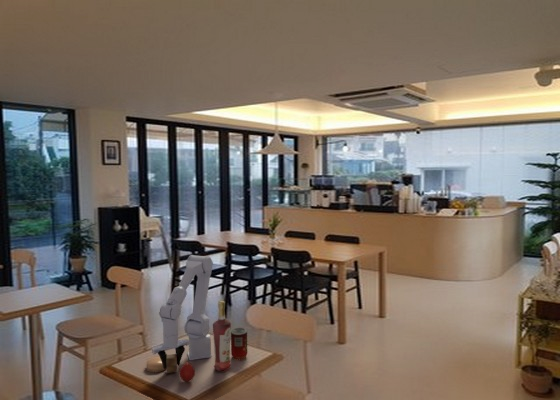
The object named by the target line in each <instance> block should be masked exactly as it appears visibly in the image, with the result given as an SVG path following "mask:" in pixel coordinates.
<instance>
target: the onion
mask: <svg viewBox="0 0 560 400" xmlns="http://www.w3.org/2000/svg"><path fill="white" fill-rule="evenodd" d="M195 375H196V370H195V367H194V365H192V364H191V363H189V362H188V361H186V362H185V364H183V365H182V366H181V367H180V370H179V378H180V379H181V380H183V381H184V382H185V383H189V382H190V381H192V380H193V379H194V377H195Z"/></svg>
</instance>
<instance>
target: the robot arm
mask: <svg viewBox="0 0 560 400" xmlns="http://www.w3.org/2000/svg"><path fill="white" fill-rule="evenodd" d="M213 265H214V261H213V260H212V258H211V257H210V256H205V255H204V256H203V255H194V254H191V255H189V256H188V257H187V260H186V261H185V270H184V274H183V275H182V278H181V280H180V282H179V285H178V286H176V287H174V288H173V290H172V291H171V294H170V295H169V297H168V299H167V301H166V303H164V304H162V305H161V307H160V308H159V309H160V310H159V312H158V314H159V317H160V318H161V322H162V340H163V341H162V342H163V343H161V344H159V345H156V346H153V347H152V348H151V351H152V355H156V354H158V356H160V358H161V361H162V364H163V368H164V369H167V365H166V358H167V355H168V354H167V353H166V351H169V350H175V354H176V357H177V367H178V366H180V365H181V360H182V357H183V354H184V353H185V351H186V348H185V346H187V347H188V351H187V353H186V354H187V357H188V360H189V361H195V360H200V359H201V360H202V359H208V358H212V344H211V343H212V341H211V335H210V333H209V332H210V318H209V317H208V316H207V315H206V313H205V312H206V308H207V298H208V293H209V292H208V291H209V287H210V280H211V275H212V270H213ZM195 276H196V277H197V280H196V287H195V293H194V300H193V308H192V312H191V313H190V314H189V315H187V317H186V320H185V323H184V327H183V328H184V332H185V334H186V337H188V339H179V331H178V330H179V326H178V318H179V317H180V316H181V311H182V310H181V309H182V305H183V302H184V301H185V298H186V297H187V295H188V292H187V289H188V288H189V286H190V284H191V283H192V281H193V279H194V278H195Z"/></svg>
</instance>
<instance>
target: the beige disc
mask: <svg viewBox="0 0 560 400" xmlns="http://www.w3.org/2000/svg"><path fill="white" fill-rule="evenodd" d="M145 365H146V366H145V367H146V371H147V372H150V373H160V372H163V371H165V370H166V369H164V368H163V364H162V361H161V358H160V356H159V355H158V356H153V357H151V358H149V359H147V360H146V363H145Z"/></svg>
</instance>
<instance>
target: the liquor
mask: <svg viewBox="0 0 560 400" xmlns="http://www.w3.org/2000/svg"><path fill="white" fill-rule="evenodd" d="M217 307H218V317H217V320H216V321H214V322H213V323H212V336H213V347H214V348H213V349H214V365H213V367H214V369H215V370H216V371H218V372H226V371H228V370H229V369H230V368H231V366H232V364H231V331H232V330H231V328H232V324H231V322H230V321H229V320H227V319H226V312H225V308H226V301H224V300H220V301H219V300H218V302H217Z"/></svg>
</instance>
